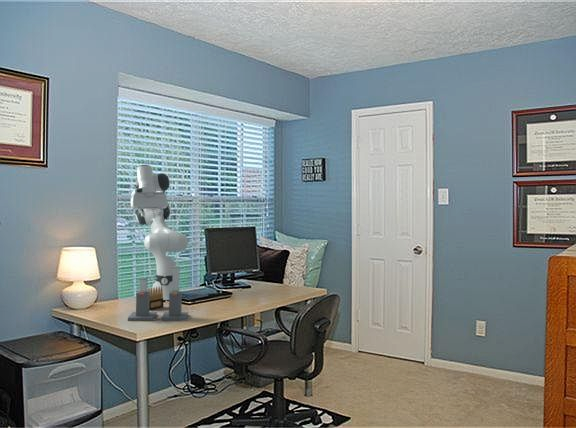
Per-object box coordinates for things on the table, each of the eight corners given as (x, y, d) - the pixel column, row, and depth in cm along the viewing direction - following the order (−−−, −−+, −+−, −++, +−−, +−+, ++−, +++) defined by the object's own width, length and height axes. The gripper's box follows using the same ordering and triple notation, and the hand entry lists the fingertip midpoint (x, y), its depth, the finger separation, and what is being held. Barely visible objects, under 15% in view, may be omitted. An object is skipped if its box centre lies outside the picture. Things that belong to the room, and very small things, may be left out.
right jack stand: (164, 314, 259) (165, 264, 258) (188, 314, 261) (189, 265, 260) (161, 320, 247) (162, 268, 246) (186, 320, 249) (187, 268, 248)
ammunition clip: (148, 310, 267) (148, 288, 267) (145, 310, 268) (146, 287, 268) (163, 307, 276) (164, 285, 276) (161, 306, 277) (161, 285, 277)
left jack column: (140, 311, 253) (140, 277, 253) (146, 311, 254) (147, 277, 253) (139, 312, 250) (139, 278, 250) (145, 312, 251) (145, 278, 250)
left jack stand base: (132, 314, 257) (133, 289, 257) (156, 314, 259) (157, 289, 258) (127, 320, 246) (128, 293, 245) (152, 320, 247) (153, 294, 246)
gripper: (163, 194, 286) (167, 217, 282) (127, 194, 273) (131, 218, 270) (167, 190, 281) (171, 213, 277) (131, 189, 269) (135, 214, 265)
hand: (151, 215), depth 274 cm, fingers open, 8 cm apart
